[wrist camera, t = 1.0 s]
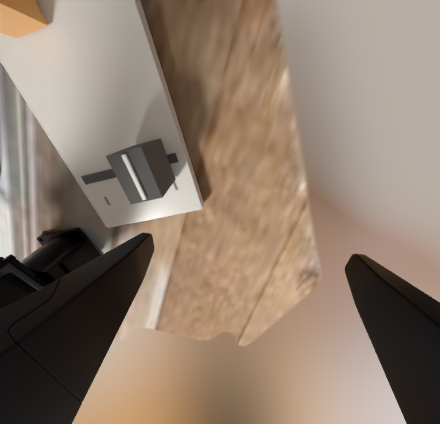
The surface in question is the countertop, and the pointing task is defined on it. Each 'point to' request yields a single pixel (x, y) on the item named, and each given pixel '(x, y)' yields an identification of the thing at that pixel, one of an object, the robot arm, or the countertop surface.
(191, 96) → the countertop surface
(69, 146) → the panel
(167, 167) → the block
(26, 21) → the orange fader
